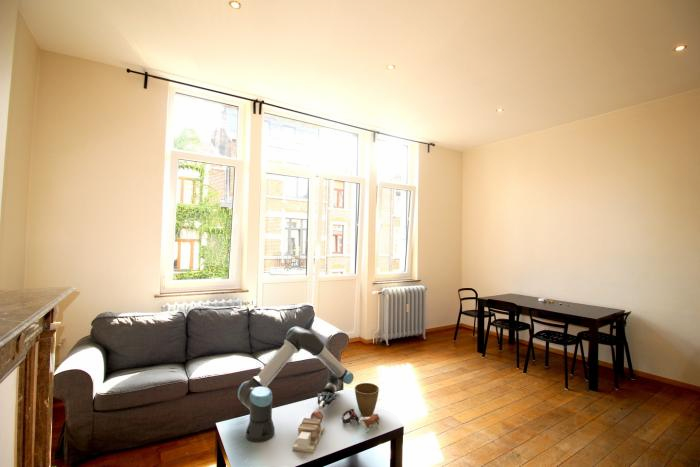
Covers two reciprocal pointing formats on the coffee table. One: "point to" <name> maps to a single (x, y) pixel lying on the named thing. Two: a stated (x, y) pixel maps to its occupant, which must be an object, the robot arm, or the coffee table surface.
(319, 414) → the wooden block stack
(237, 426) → the coffee table surface
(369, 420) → the bull figurine
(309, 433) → the block
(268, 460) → the coffee table surface
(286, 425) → the coffee table surface
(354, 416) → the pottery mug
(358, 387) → the plant pot
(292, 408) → the coffee table surface
